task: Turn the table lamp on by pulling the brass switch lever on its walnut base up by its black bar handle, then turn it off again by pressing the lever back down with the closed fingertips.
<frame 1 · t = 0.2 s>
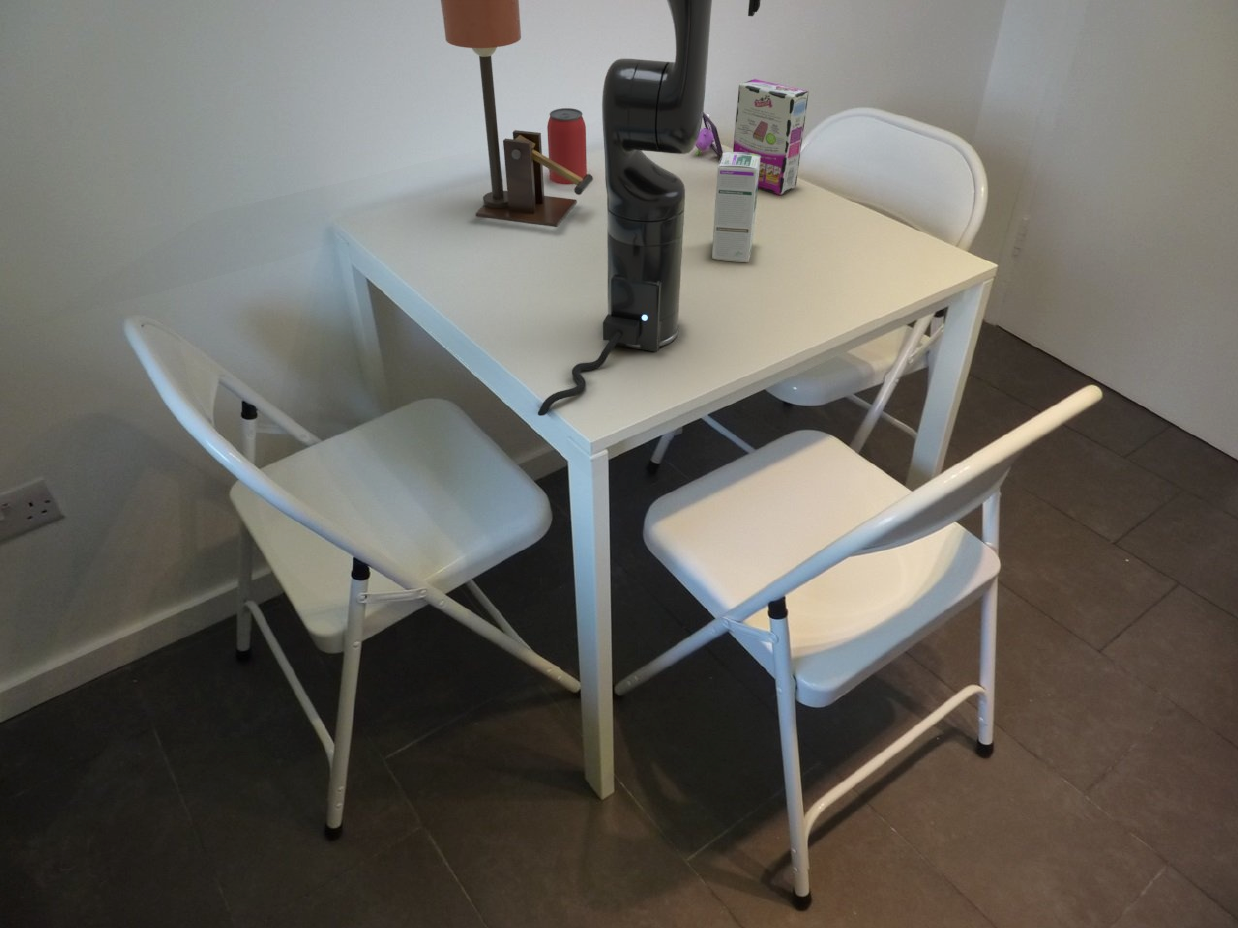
hand: (723, 13, 125), 29 cm above the table, tool pointing down, fingers open, 8 cm apart
candy bar box: (762, 185, 150), on the table
beer can: (568, 183, 150), on the table
lamp base: (527, 215, 139), on the table
switch: (551, 165, 132), point 9 cm above the table, hinge at -25.0°
lamp: (499, 211, 140), resting on lamp base
syrup box: (731, 254, 129), on the table
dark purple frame: (706, 155, 161), on the table
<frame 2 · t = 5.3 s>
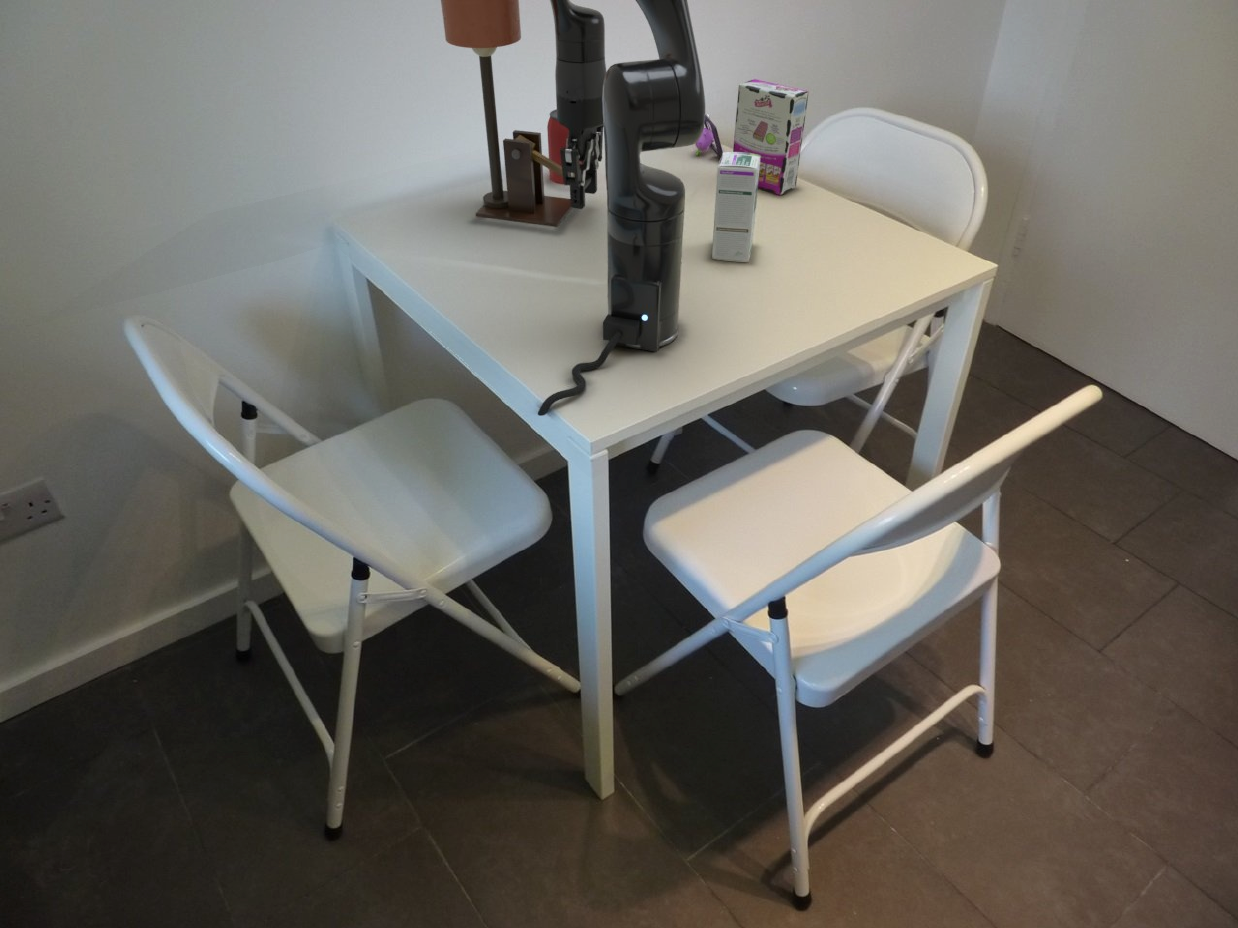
hand: (584, 199, 134), 4 cm above the table, tool pointing down, fingers closed on switch, 5 cm apart
switch: (551, 165, 132), point 9 cm above the table, hinge at -25.1°, touching gripper
everything else where it was.
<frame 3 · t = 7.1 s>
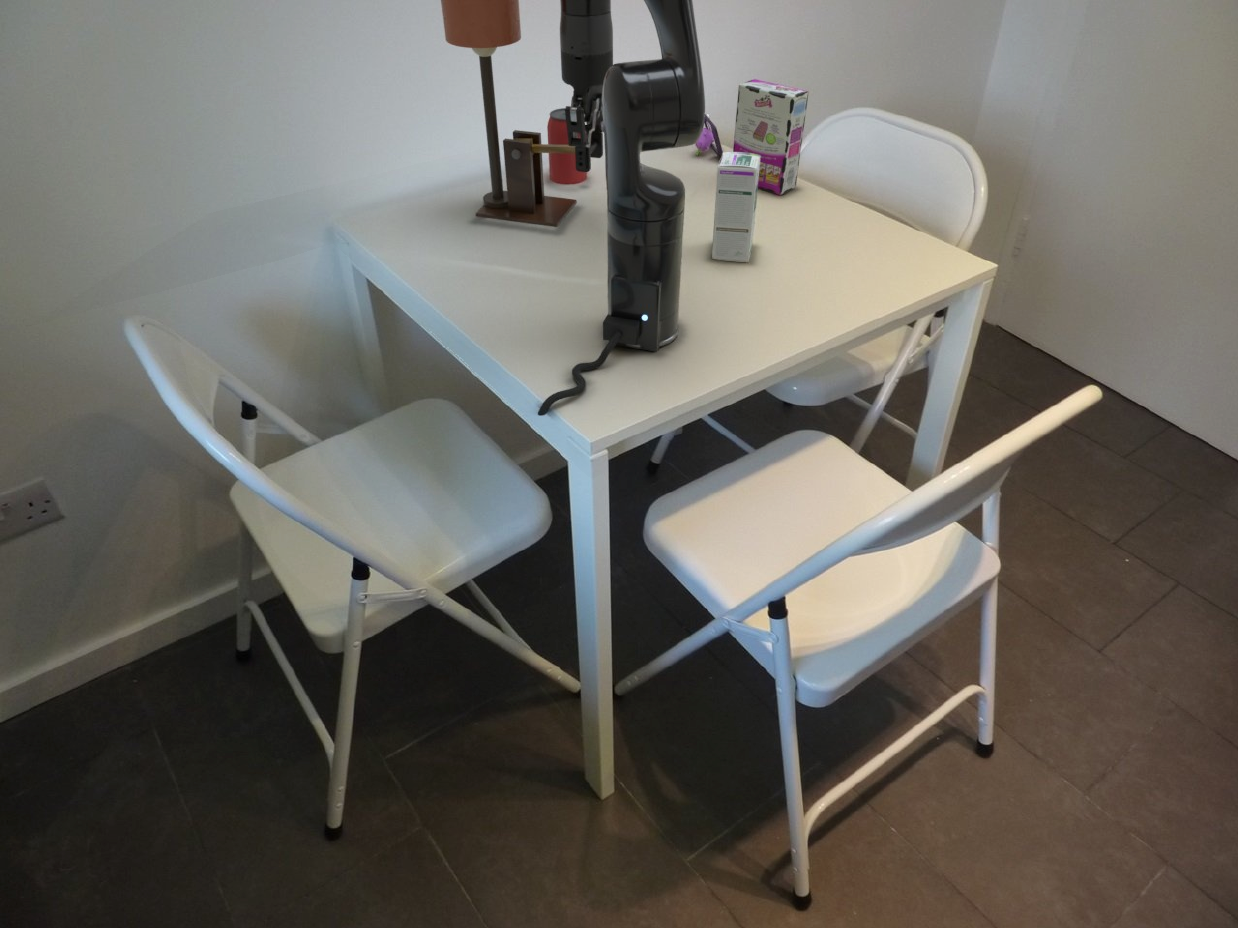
hand: (589, 163, 130), 10 cm above the table, tool pointing down, fingers closed on switch, 5 cm apart
switch: (553, 148, 131), point 11 cm above the table, hinge at 5.0°, touching gripper
everything else where it was.
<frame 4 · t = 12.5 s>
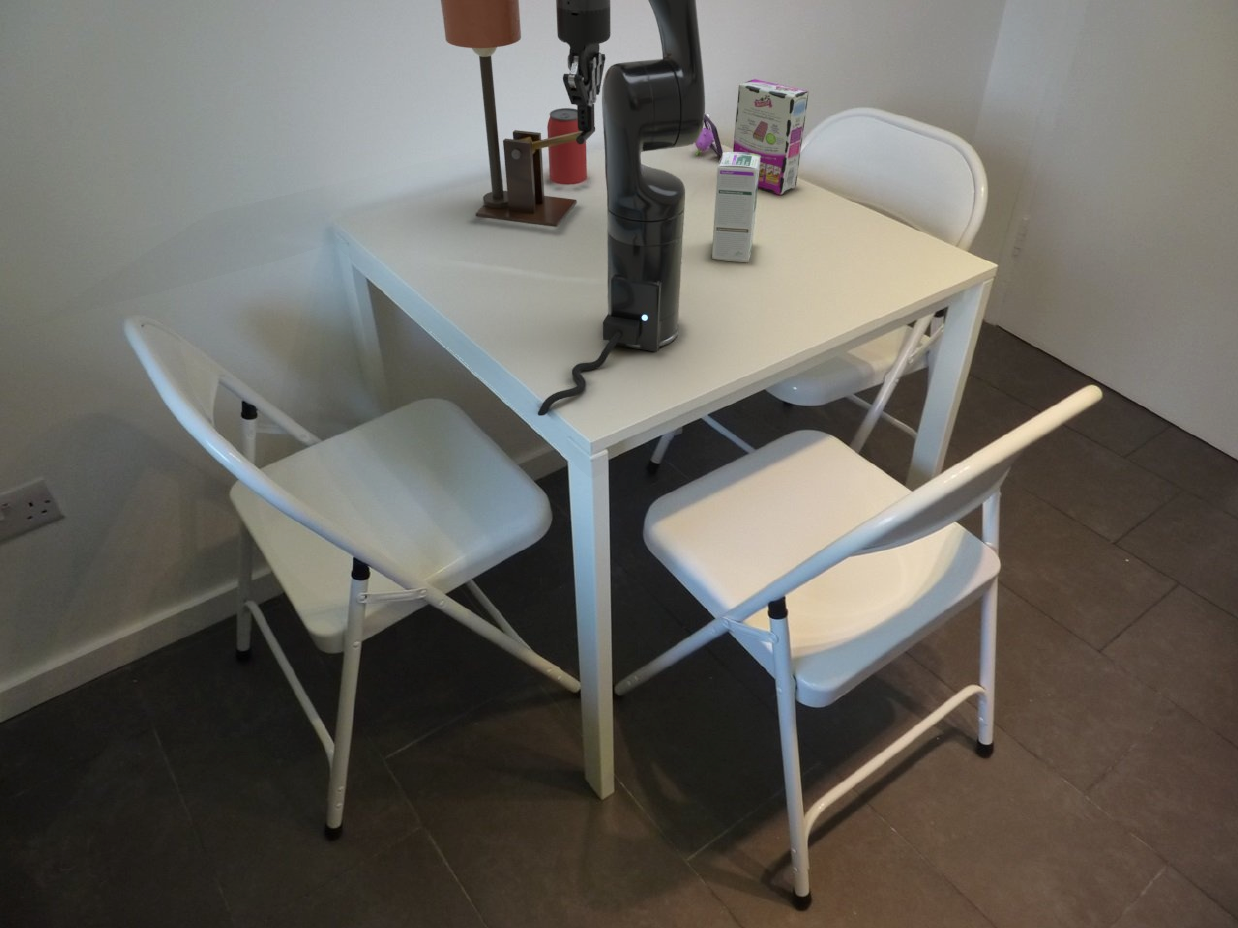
hand: (586, 129, 127), 15 cm above the table, tool pointing down, fingers closed
switch: (551, 141, 130), point 12 cm above the table, hinge at 17.0°
everything else where it was.
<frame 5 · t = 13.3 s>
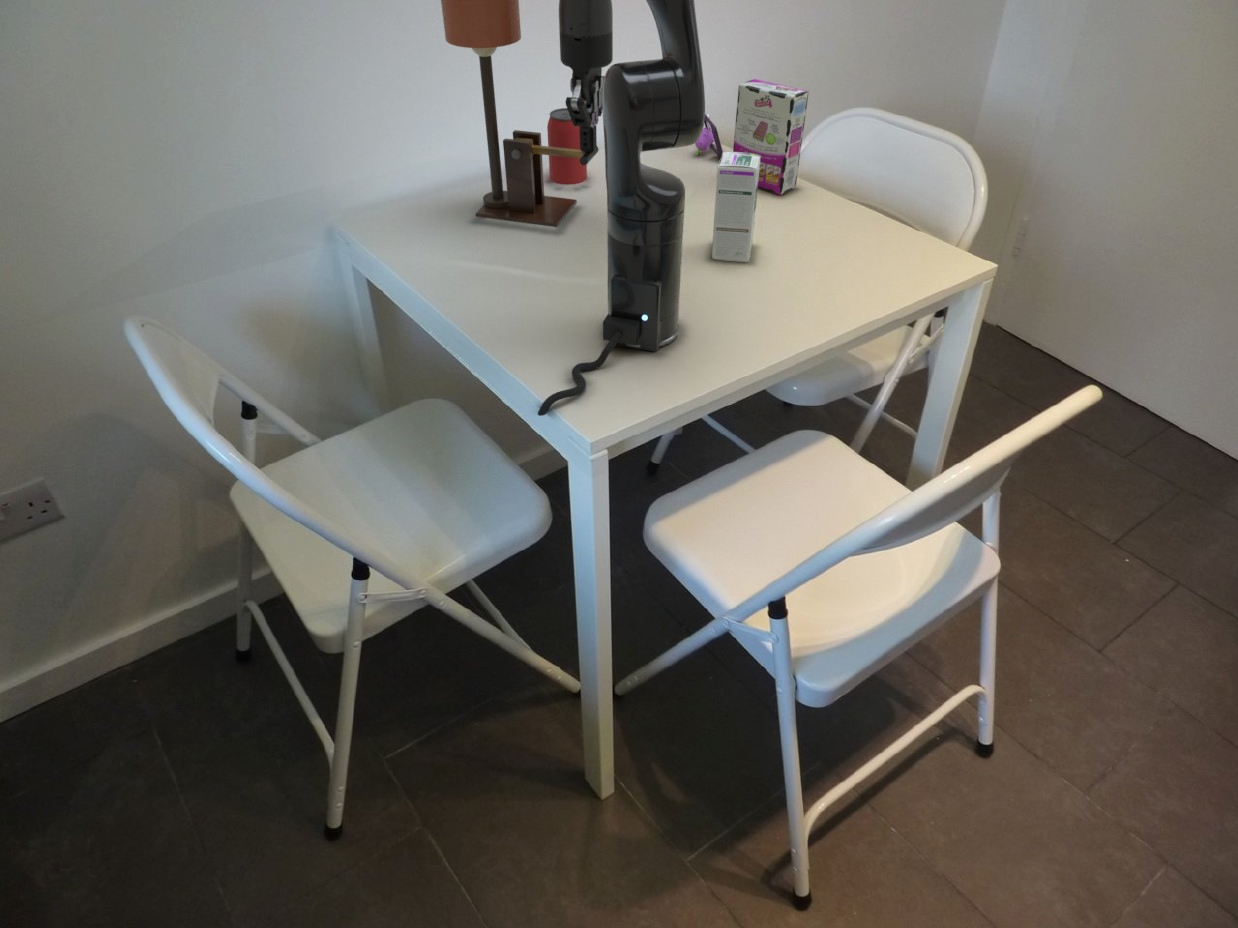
hand: (588, 150, 129), 12 cm above the table, tool pointing down, fingers closed
switch: (553, 151, 131), point 11 cm above the table, hinge at 0.4°, touching gripper
everything else where it was.
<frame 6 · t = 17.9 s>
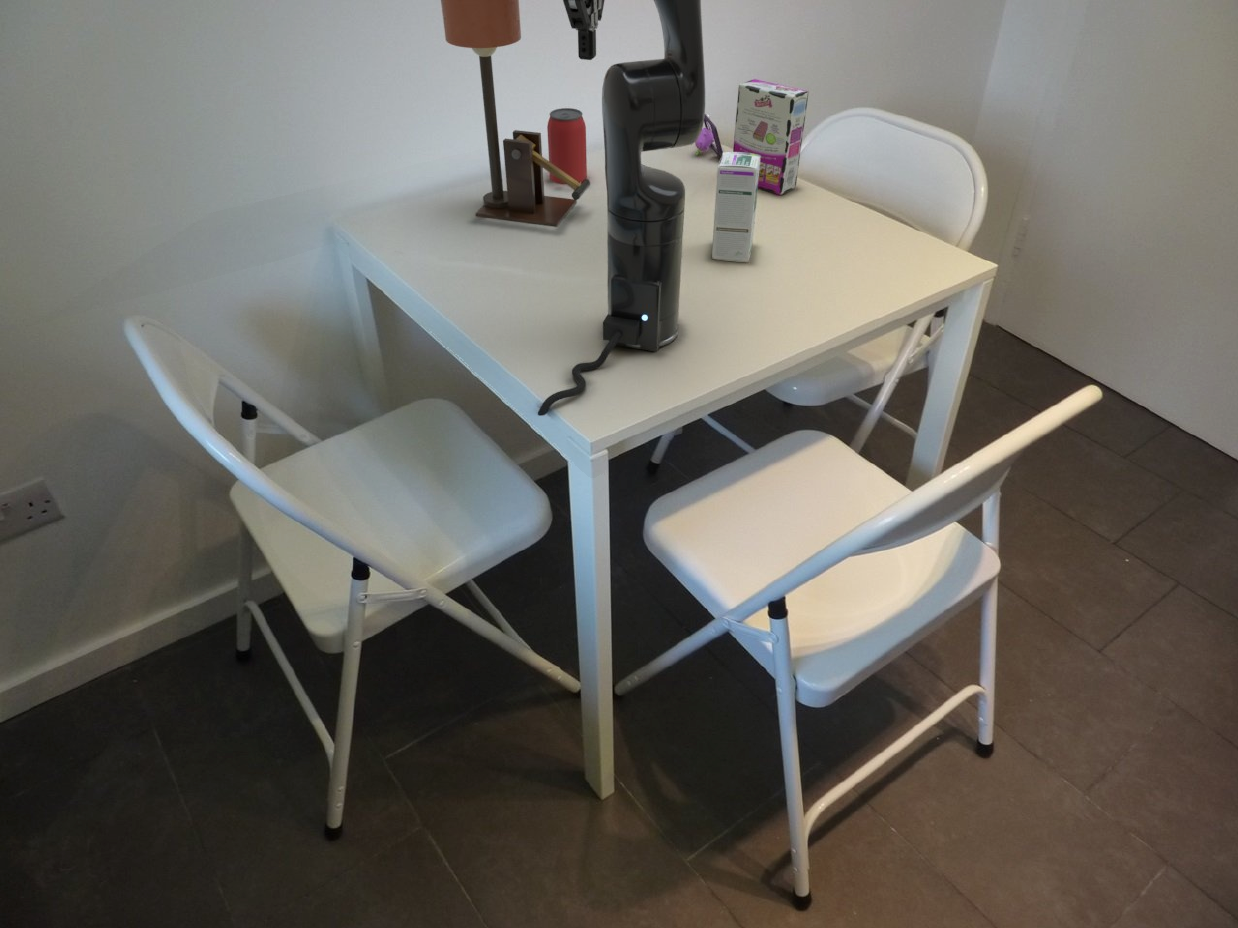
hand: (587, 58, 121), 25 cm above the table, tool pointing down, fingers closed
switch: (550, 167, 133), point 8 cm above the table, hinge at -30.1°
everything else where it was.
at the end: switch reached +22° during the clip, -30° at the end; switch at -30° (first picture: -25°) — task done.
